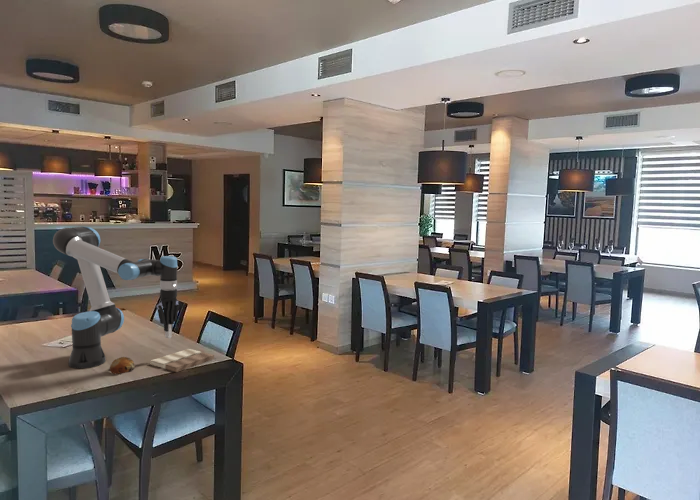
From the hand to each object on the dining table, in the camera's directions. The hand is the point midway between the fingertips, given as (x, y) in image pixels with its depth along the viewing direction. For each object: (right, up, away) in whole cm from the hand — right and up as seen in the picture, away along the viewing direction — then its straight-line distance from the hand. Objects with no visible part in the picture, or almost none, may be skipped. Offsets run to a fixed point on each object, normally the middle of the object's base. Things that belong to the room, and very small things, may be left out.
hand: (168, 337), depth 232 cm
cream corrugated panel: (+4, -11, -1) cm, 11 cm away
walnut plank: (+12, -12, -5) cm, 18 cm away
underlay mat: (+7, -11, -2) cm, 14 cm away
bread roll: (-15, -13, -15) cm, 24 cm away
